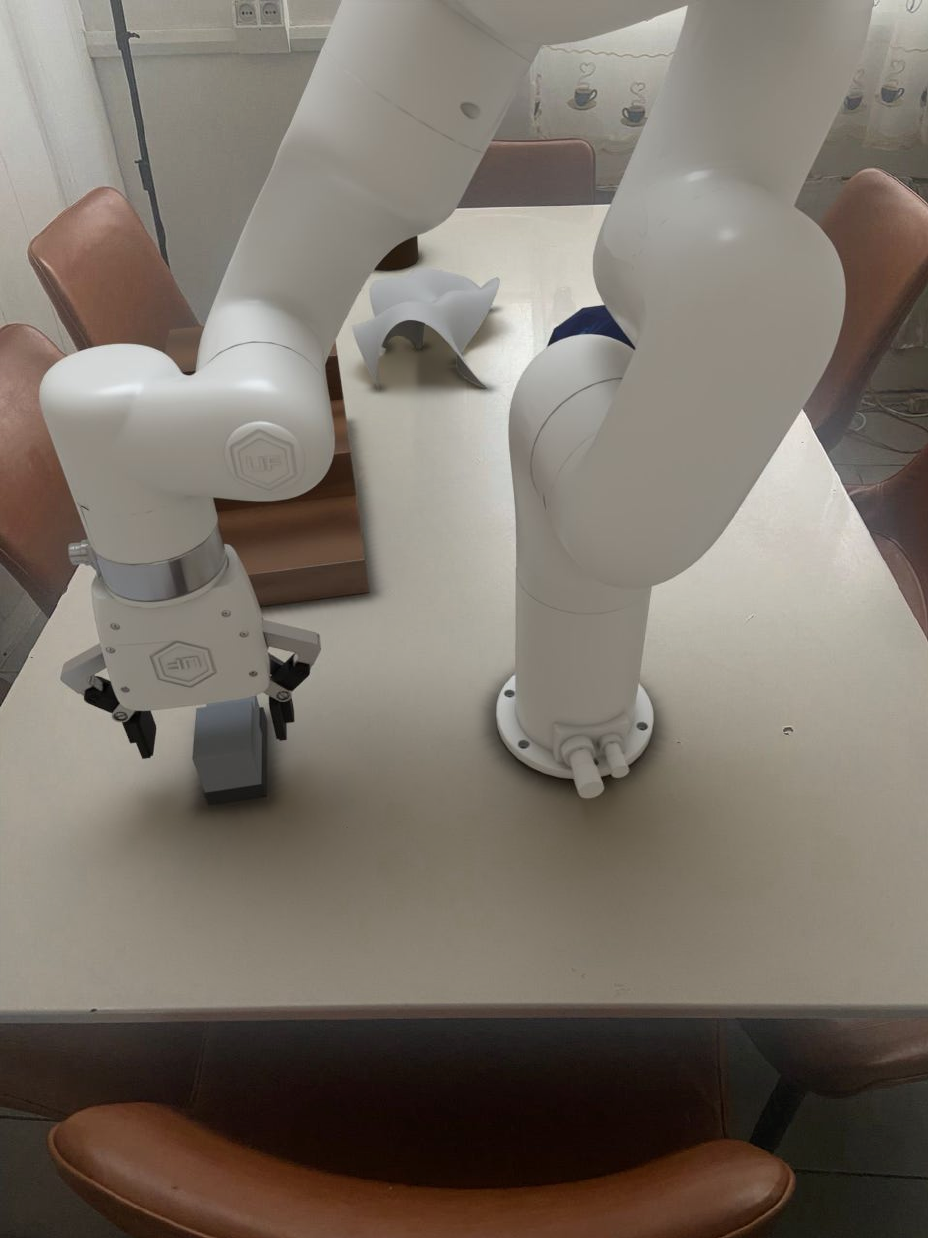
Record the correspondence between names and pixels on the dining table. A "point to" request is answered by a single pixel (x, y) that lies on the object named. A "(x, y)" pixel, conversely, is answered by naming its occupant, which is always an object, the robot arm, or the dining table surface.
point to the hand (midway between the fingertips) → (216, 735)
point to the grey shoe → (231, 750)
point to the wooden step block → (295, 514)
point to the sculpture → (425, 313)
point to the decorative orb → (590, 325)
